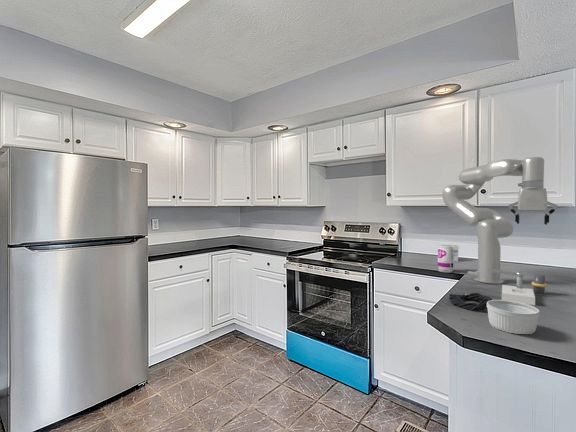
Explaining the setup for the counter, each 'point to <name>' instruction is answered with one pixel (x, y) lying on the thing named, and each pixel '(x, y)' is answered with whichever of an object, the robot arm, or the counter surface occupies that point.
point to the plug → (539, 284)
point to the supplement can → (445, 258)
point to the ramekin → (512, 316)
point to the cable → (473, 296)
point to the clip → (505, 272)
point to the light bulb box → (455, 252)
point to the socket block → (518, 293)
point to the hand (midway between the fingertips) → (531, 224)
